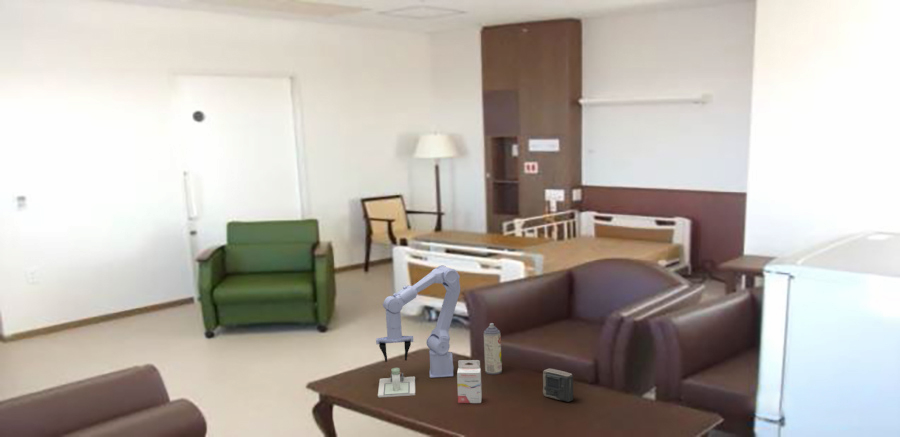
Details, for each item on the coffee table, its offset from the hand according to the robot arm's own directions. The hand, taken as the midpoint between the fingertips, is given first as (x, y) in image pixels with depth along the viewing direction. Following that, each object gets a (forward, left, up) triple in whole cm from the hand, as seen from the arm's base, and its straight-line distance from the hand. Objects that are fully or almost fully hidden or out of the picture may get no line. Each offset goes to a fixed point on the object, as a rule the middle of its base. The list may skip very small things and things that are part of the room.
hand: (396, 360), depth 281 cm
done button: (0, -2, -7) cm, 8 cm away
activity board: (0, +5, -9) cm, 10 cm away
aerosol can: (-39, -6, -10) cm, 41 cm away
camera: (-59, +26, -10) cm, 65 cm away
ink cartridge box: (-27, +23, -10) cm, 37 cm away
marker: (0, +9, -8) cm, 12 cm away
